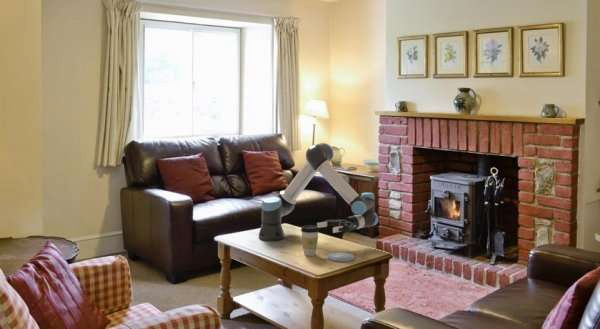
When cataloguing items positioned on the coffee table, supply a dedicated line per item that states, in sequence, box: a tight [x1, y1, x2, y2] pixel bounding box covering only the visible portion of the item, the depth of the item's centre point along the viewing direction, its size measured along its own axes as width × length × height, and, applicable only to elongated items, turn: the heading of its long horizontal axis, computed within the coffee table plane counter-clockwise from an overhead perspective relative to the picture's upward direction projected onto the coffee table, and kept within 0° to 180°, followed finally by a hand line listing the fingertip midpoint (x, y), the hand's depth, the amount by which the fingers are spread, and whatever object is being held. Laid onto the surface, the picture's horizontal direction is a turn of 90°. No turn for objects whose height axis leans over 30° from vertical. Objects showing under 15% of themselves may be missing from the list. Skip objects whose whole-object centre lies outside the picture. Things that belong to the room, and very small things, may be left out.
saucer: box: [327, 251, 355, 263], centre depth 304 cm, size 14×14×1 cm
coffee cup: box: [300, 224, 320, 257], centre depth 310 cm, size 10×10×15 cm
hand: (325, 227), depth 314 cm, fingers open, 13 cm apart
